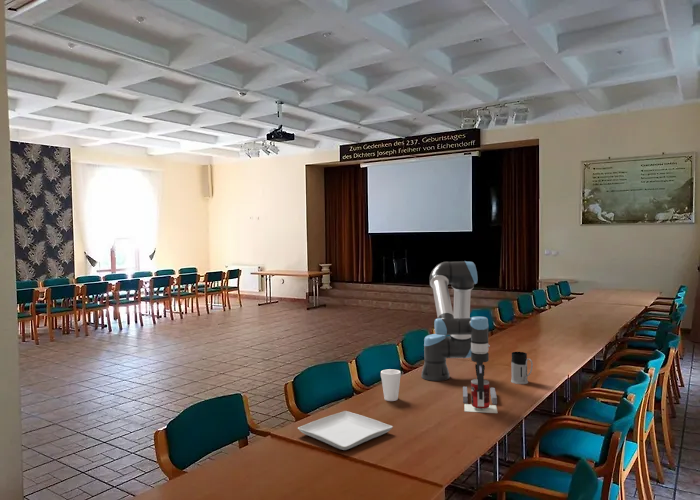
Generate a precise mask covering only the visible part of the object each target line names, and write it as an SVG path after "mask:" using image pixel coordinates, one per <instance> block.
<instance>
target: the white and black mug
mask: <svg viewBox="0 0 700 500" xmlns="http://www.w3.org/2000/svg"><path fill="white" fill-rule="evenodd" d="M527 354H528V353H526V352H524V351H512V352H511V380H510V382H511V383H512V384H515V385H526V384H529V381H528V376H530V375H531V373H532V371H533V365H534V364H533V361H532V359H531V358H528V355H527ZM528 360H529V361H530V371H529V372H528Z"/></svg>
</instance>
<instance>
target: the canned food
mask: <svg viewBox="0 0 700 500" xmlns="http://www.w3.org/2000/svg"><path fill="white" fill-rule="evenodd" d="M476 390H478V379H477V378H474V379H472V380H470V391H471V394H470V395H471V398H470V399H471V400H470V401H471V403H470V404H472V406H473V407H476V408H488V407H489V405H491V404H490V399H491V395H490V381H489V380H487V379H484V407H481V406H478V394H477V392H476Z"/></svg>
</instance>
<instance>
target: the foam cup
mask: <svg viewBox="0 0 700 500" xmlns="http://www.w3.org/2000/svg"><path fill="white" fill-rule="evenodd" d="M401 377H402V374H401V370H399V369H391V368H389V369H383V370H381V371H380V378H381V385H382V390H383V391H382V392H383V397H384V401H388V402H394V401H398V399H399V392H400V384H401V383H400V382H401Z"/></svg>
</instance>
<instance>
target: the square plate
mask: <svg viewBox="0 0 700 500" xmlns="http://www.w3.org/2000/svg"><path fill="white" fill-rule="evenodd" d="M393 427H394V426H393V425H391V424H387V423H384V422H383V421H381V420H377V419H375V418H370V417H367V416H365V415H361V414H358V413H354V412H351V411H349V410H348V411H347V410H343V411H341V412H337V413H334V414H330V415H328V416H324V417H321V418H319V419H317V420H313V421H311V422H308V423H306V424H303V425H301V426H298V427H297V430H299V432H301V433H302V434H303V435H306V436H309V437H311V438H313V439H316V440H318V441H320V442H323V443H324V444H328V445H329V446H332V447H333V448H336V449H338V450H343V451H347V450H349V449H352V448H355V447H358V445H361V444H363V443H365V442H368V441H370V440H373V439H375V438H378V437H380V436H382V435H385V434H386V433H388V432H390V431H391V430H392V429H393Z"/></svg>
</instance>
